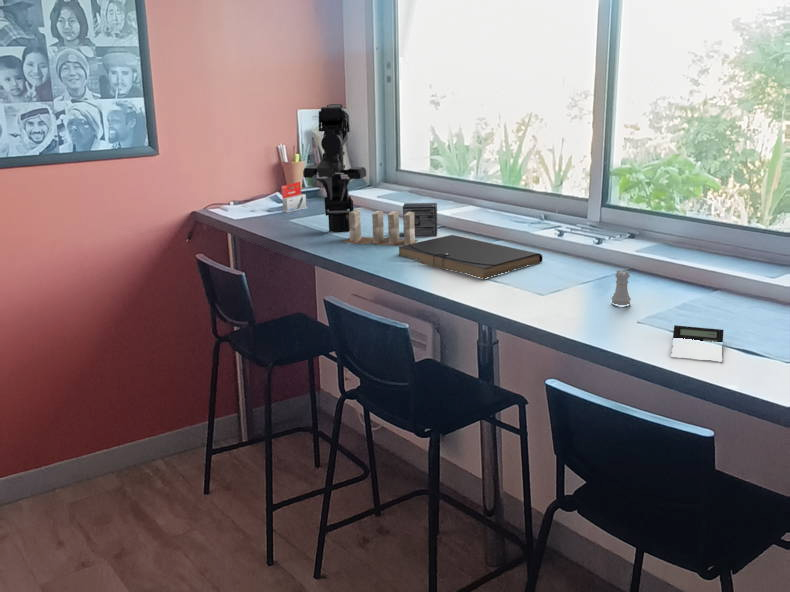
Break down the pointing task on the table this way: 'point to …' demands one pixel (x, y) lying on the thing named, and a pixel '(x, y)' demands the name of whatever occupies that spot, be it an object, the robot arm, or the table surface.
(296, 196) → the ink cartridge box
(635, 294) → the table surface
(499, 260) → the book
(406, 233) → the domino
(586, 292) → the table surface
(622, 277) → the rook chess piece
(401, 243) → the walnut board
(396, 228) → the domino
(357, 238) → the domino
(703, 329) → the calculator
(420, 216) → the small box
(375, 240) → the domino
